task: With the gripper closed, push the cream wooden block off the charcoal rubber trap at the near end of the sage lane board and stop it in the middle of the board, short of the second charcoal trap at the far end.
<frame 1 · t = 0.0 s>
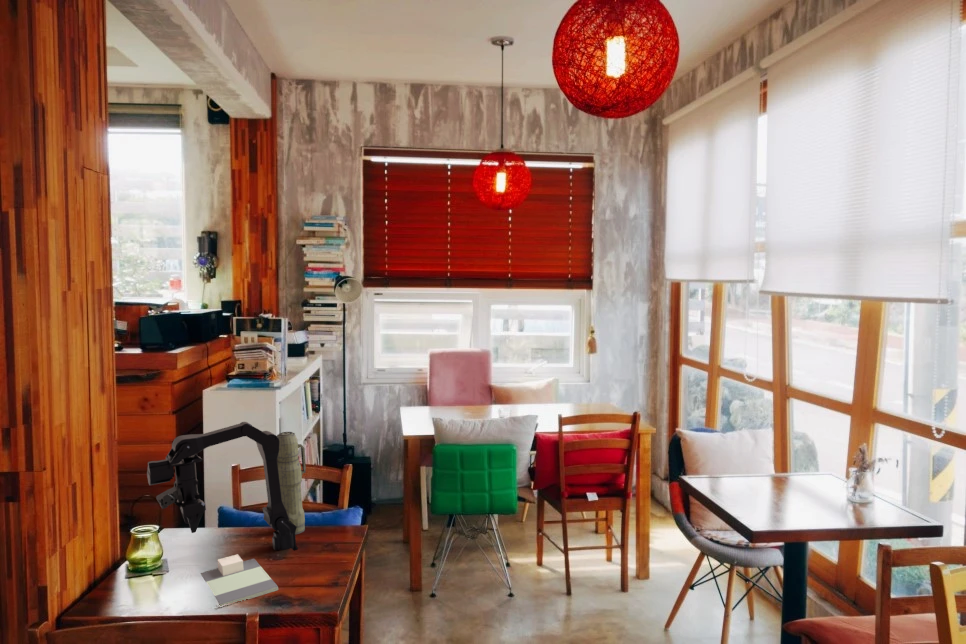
hand: (190, 527, 206), 15 cm above the table, tool pointing down, fingers open, 9 cm apart
cream block: (230, 569, 207), point 1 cm above the table, touching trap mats
lane board: (238, 583, 200), on the table
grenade: (292, 531, 239), on the table
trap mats: (238, 579, 200), on the lane board, point 1 cm above the table
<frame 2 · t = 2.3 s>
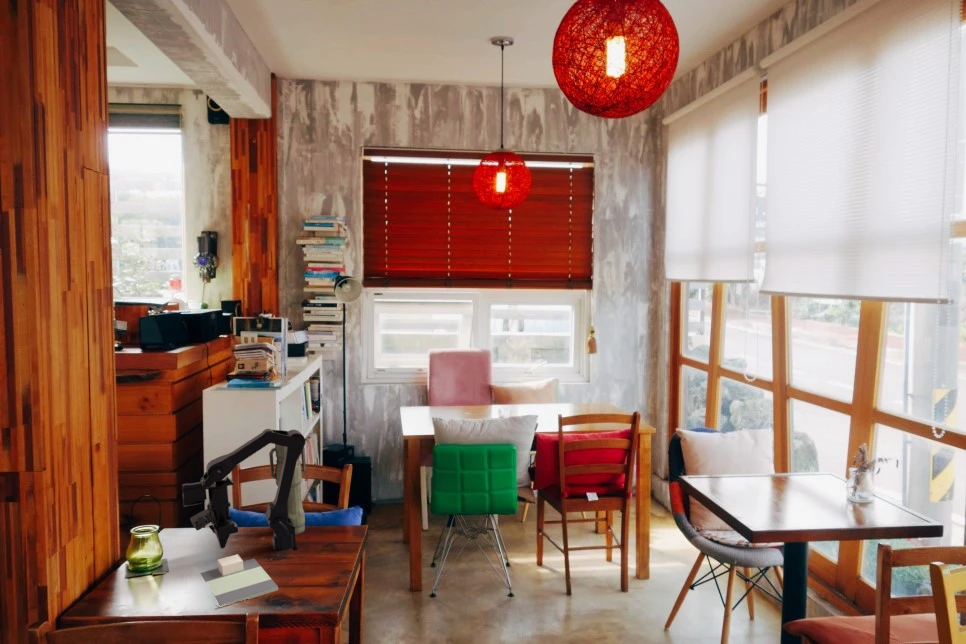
hand: (222, 548, 215), 5 cm above the table, tool pointing down, fingers closed
nothing on the table moved.
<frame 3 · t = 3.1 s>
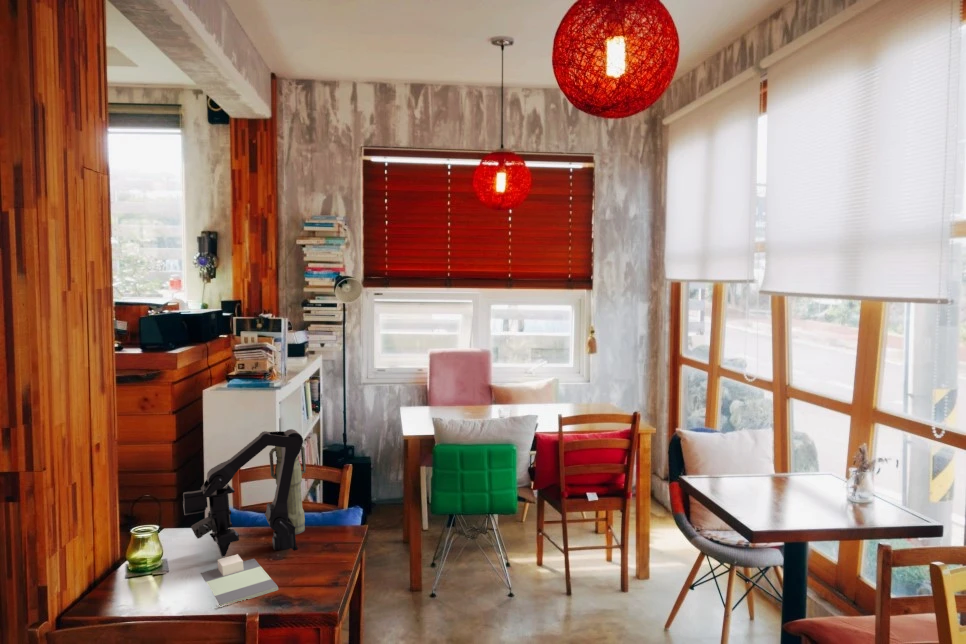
hand: (223, 556, 214), 2 cm above the table, tool pointing down, fingers closed
nothing on the table moved.
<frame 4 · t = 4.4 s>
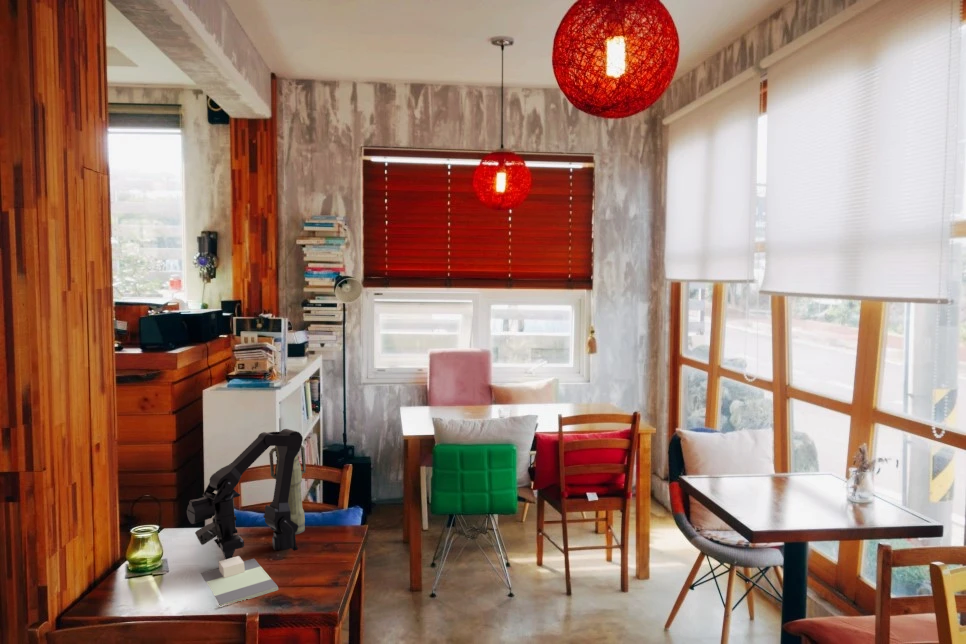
hand: (228, 562, 209), 2 cm above the table, tool pointing down, fingers closed
cream block: (232, 571, 206), point 1 cm above the table, touching gripper, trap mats
everything else where it was.
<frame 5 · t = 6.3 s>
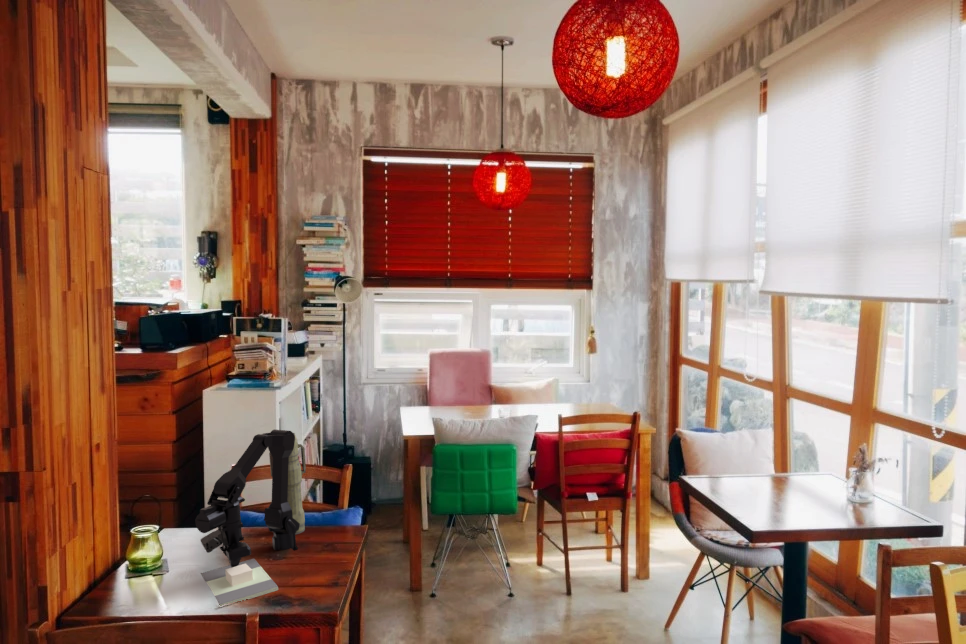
hand: (234, 570, 203), 2 cm above the table, tool pointing down, fingers closed
cream block: (239, 579, 200), point 1 cm above the table, touching gripper, lane board
everything else where it was.
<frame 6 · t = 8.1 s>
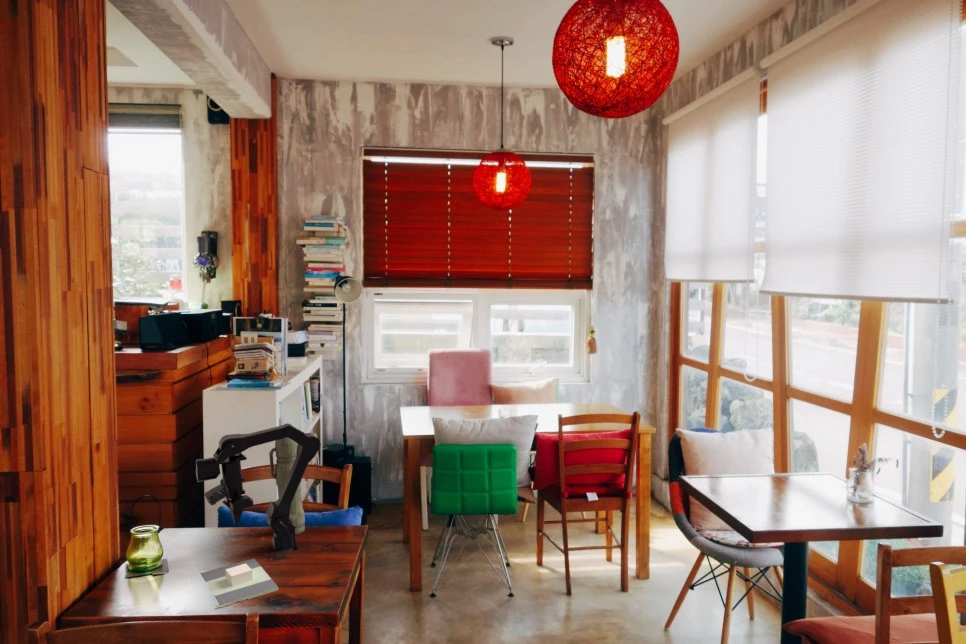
hand: (236, 523, 215), 12 cm above the table, tool pointing down, fingers closed
cream block: (239, 579, 200), point 1 cm above the table, touching lane board
everything else where it was.
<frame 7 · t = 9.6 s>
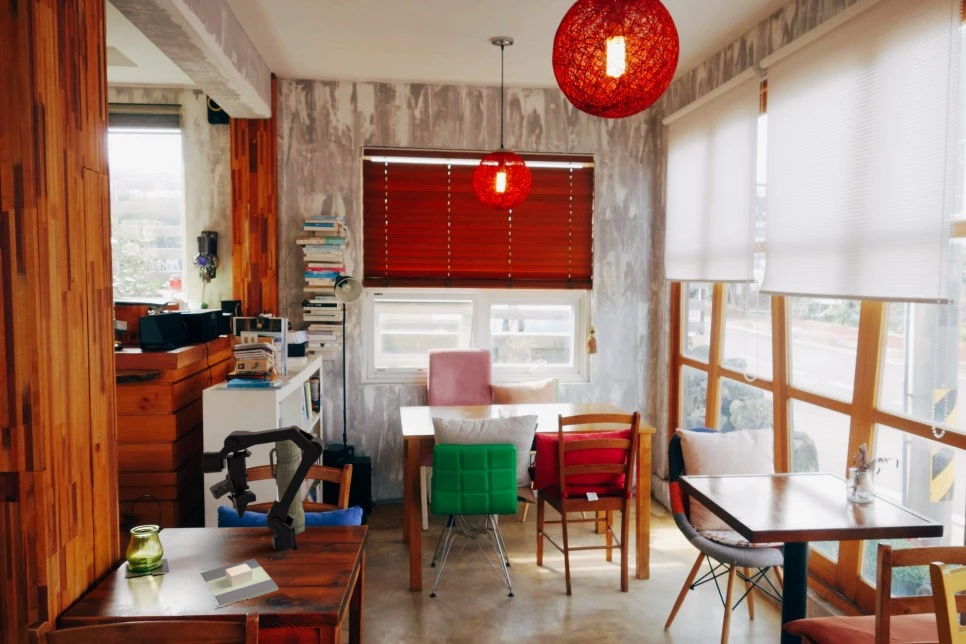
hand: (240, 517, 220), 12 cm above the table, tool pointing down, fingers closed
nothing on the table moved.
at the end: cream block inside the target area (0.6 cm from its centre), point 1.0 cm above the table; cream block touching lane board; cream block tilted 0° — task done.
